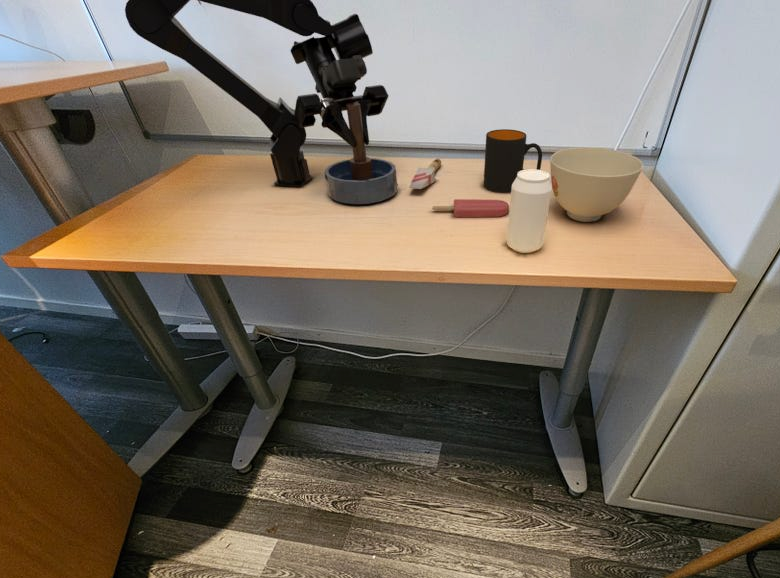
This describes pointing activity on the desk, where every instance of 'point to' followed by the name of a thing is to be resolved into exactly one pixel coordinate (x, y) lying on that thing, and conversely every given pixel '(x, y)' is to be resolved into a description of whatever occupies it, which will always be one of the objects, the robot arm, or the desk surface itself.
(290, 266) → the desk surface
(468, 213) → the popsicle
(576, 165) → the bowl
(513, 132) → the mug
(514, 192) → the beverage can
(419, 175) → the paintbrush
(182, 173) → the desk surface
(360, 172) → the pestle
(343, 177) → the blue grey round dish
